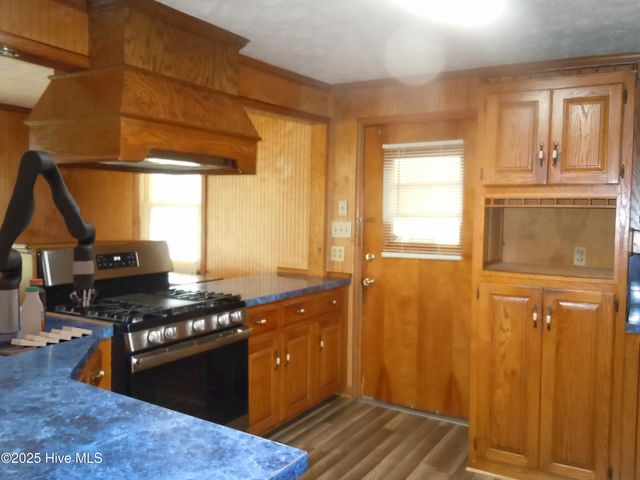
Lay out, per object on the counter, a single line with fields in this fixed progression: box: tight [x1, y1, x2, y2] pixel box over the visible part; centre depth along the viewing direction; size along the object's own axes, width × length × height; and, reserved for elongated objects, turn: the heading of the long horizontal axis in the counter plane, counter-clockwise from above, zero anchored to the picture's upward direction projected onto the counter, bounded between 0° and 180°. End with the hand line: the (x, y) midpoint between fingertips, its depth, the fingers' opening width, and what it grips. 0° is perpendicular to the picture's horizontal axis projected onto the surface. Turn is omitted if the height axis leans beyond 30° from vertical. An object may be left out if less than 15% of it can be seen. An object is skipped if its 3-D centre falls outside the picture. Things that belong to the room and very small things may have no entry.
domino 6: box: [61, 325, 93, 336], centre depth 207 cm, size 2×5×10 cm
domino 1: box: [0, 345, 38, 357], centre depth 184 cm, size 2×5×10 cm
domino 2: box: [10, 338, 48, 347], centre depth 188 cm, size 2×5×10 cm
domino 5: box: [50, 328, 83, 338], centre depth 202 cm, size 2×5×10 cm
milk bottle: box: [20, 286, 45, 340], centre depth 201 cm, size 8×8×20 cm
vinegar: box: [28, 278, 47, 328], centre depth 223 cm, size 7×7×20 cm
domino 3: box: [25, 335, 60, 344], centre depth 193 cm, size 2×5×10 cm
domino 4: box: [39, 331, 73, 341], centre depth 198 cm, size 2×5×10 cm
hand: (83, 315), depth 209 cm, fingers closed
